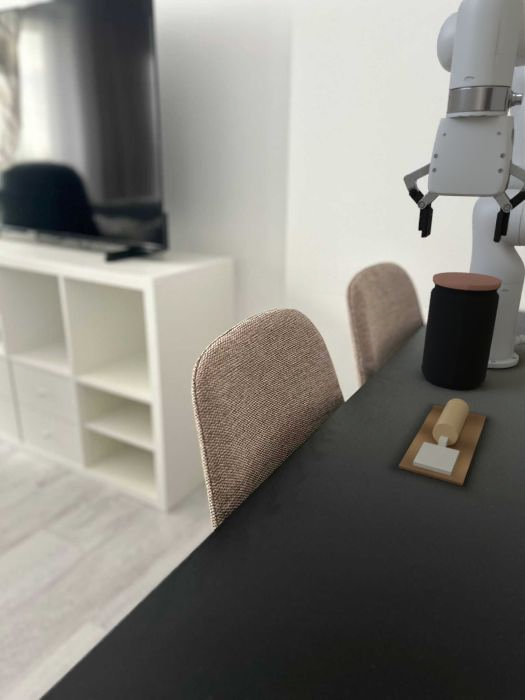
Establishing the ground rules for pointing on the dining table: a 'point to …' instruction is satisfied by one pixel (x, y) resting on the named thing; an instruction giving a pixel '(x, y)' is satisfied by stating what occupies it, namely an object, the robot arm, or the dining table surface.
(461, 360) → the coffee jar
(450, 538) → the dining table surface
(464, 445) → the wooden board
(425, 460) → the spatula
